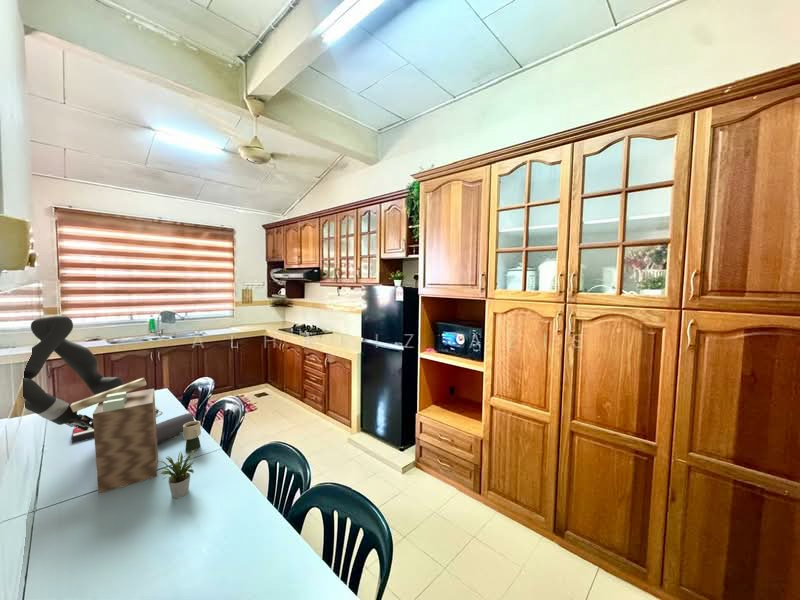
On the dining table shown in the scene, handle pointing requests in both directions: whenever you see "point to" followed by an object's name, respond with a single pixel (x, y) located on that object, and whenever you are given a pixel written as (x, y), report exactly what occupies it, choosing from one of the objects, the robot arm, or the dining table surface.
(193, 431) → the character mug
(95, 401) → the maple plank
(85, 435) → the red and black block
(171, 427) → the bluetooth speaker
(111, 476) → the walnut stand
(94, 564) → the dining table surface
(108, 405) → the pale green blocks
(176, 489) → the house plant
